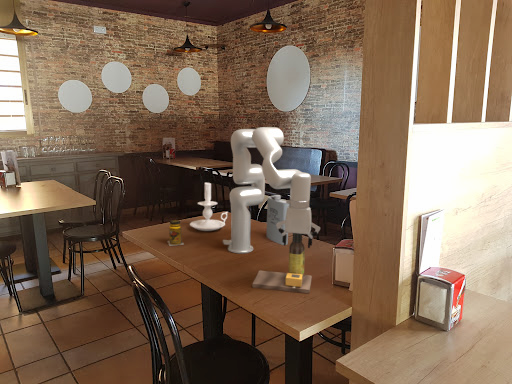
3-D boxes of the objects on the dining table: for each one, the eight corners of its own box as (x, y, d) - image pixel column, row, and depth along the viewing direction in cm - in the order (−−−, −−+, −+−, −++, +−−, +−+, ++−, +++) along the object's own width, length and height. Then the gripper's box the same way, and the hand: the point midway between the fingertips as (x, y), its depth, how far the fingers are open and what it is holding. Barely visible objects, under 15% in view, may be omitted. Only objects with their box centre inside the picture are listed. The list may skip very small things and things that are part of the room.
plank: (252, 287, 151) (252, 283, 151) (259, 273, 165) (259, 270, 165) (309, 293, 147) (309, 289, 147) (311, 279, 161) (311, 275, 160)
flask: (264, 236, 217) (265, 192, 213) (271, 235, 220) (272, 192, 215) (281, 245, 203) (283, 198, 198) (288, 244, 205) (290, 197, 200)
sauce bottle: (305, 280, 155) (308, 232, 152) (290, 281, 154) (293, 232, 150) (300, 273, 162) (302, 227, 158) (286, 275, 160) (287, 228, 157)
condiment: (169, 246, 197) (169, 223, 195) (166, 241, 205) (166, 219, 203) (184, 244, 200) (184, 222, 198) (180, 240, 208) (180, 218, 205)
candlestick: (237, 229, 231) (238, 182, 225) (201, 236, 215) (201, 186, 210) (218, 221, 246) (218, 177, 241) (183, 227, 231) (183, 181, 225)
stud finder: (285, 285, 150) (285, 277, 149) (287, 280, 154) (287, 272, 154) (301, 286, 148) (301, 279, 148) (302, 281, 153) (302, 274, 153)
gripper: (276, 204, 150) (274, 246, 154) (321, 208, 147) (318, 251, 150) (278, 200, 157) (276, 240, 161) (322, 203, 154) (319, 245, 158)
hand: (296, 245), depth 156 cm, fingers open, 9 cm apart
